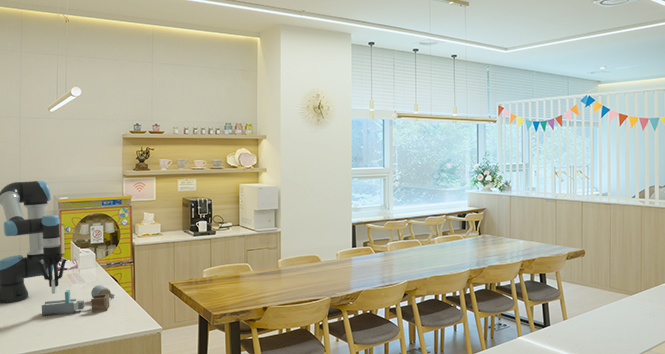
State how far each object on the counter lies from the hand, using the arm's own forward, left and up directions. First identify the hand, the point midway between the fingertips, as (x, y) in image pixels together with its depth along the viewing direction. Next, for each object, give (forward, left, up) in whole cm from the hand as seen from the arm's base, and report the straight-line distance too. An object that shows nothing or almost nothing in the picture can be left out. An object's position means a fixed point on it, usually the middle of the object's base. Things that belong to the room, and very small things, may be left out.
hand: (54, 292), depth 243 cm
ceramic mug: (-18, +19, -11) cm, 29 cm away
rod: (0, +4, -9) cm, 10 cm away
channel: (0, +2, -11) cm, 11 cm away
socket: (0, +21, -11) cm, 23 cm away
